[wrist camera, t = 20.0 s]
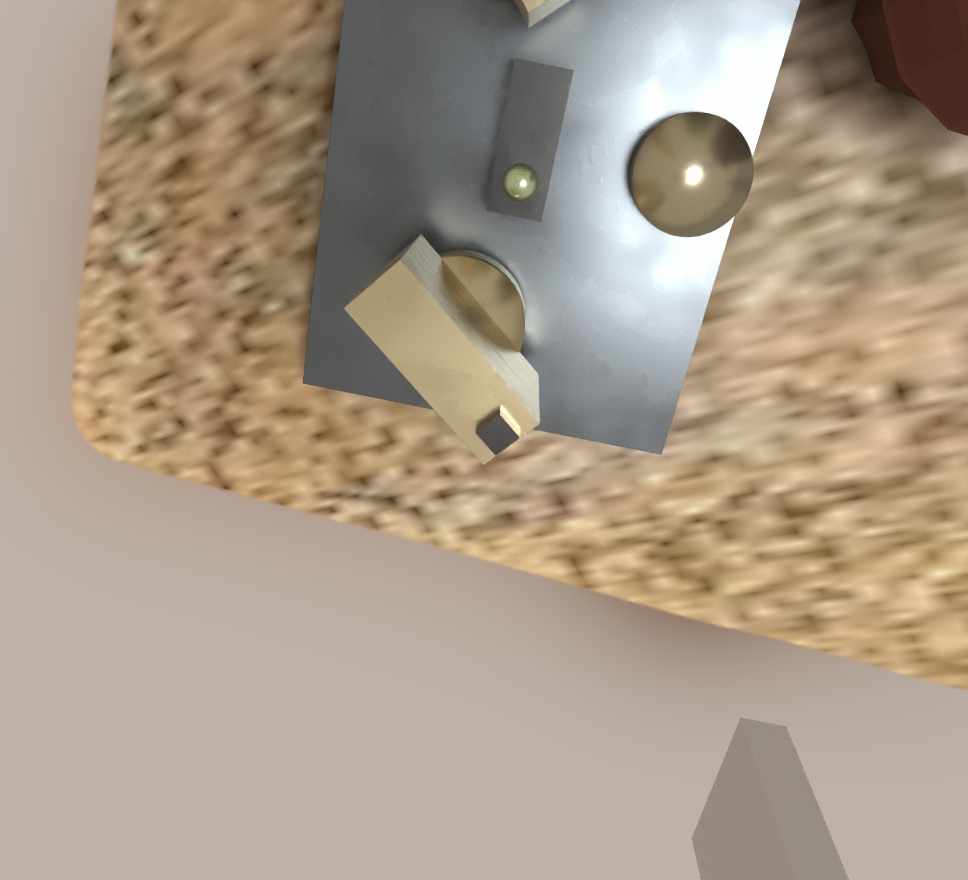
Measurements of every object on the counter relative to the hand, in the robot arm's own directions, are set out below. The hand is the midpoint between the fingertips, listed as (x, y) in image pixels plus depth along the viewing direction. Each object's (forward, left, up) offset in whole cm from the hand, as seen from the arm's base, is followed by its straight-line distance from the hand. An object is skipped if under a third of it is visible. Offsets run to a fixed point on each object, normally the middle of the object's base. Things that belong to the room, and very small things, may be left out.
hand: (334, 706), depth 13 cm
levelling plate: (-8, +2, -29) cm, 30 cm away
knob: (0, 0, -26) cm, 26 cm away
